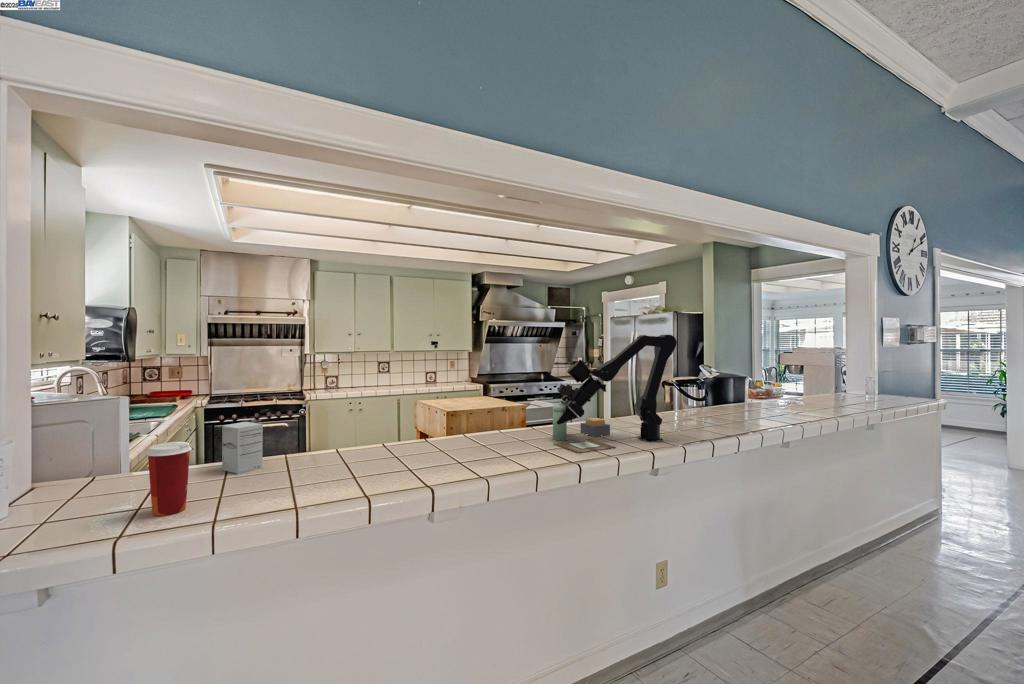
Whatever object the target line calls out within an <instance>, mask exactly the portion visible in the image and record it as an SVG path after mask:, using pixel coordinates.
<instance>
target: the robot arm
mask: <svg viewBox="0 0 1024 684" xmlns="http://www.w3.org/2000/svg"><path fill="white" fill-rule="evenodd" d="M677 343H678V340H677V339H676V337H675V336H674V335H672V334H660V335H658V336H657V335H656V336H655V335H652V336H651V335H646V334H640V335H638V336H637V337H636V338H635V339H634V340H633V341H631V342H630V344H628V345H627V346H626V347H625V348H624V349H623V350H621V351H620V352H619V353H618V354H617V355H615V356H614V357H613V358H611V359H609V360H607V361H605V362H604V363H602V364H600V365H599V366H597V367H596V368H589V367H588V366H587V365H586V364H585V363H584V362H583V360H582V359H579V360H578V361H576V362H575V363H574V364H571V366H570V367H568V369H567V371H566V373H567V374H568V375H569V376H570V377H571V378H572V379H573V380H574V381H575V382H576V383H578V384H579V383H581V385H580V386H579V387H575V389H573V386H572V385H570V384H566V385H565V384H563V383H560V384H559V386H558V389H557V392H558V393H559V394H561V395H563V396H562V397H561V400H560V403H562V404H565V411H564V413H563V414H562V415H561V417H560V418H559V419H558V421H557V422H556V423H557V424H558V425H559V424H562V423H565V422H570V421H572V420H575V419H578V418H582V417H583V416H584V415H585V409H584V406H585V405H586V404H587V403H588V402H589V403H590V402H591V401H592V400H591V399H592V398H593V397H594V396H595V395H596V394H597V393H598V392H599V391H600V390H601V391H602V392H604V393H606V392H607V389H606V387H607V384H605V383H602V382H601V381H603V382H607V383H609V382H611V381H612V380H613V379H614V378H615V377H616V376H617V375H618V373H619V372H620V370H621V368H622V367H623V366H624V365H626V363H628V362H629V361H630V360H631V359H632V358H633V357H634V356H636V355H637V354H638V353H639V352H640V351H641V350H643V349H644V348H645V347H646V346H647V347H654V348H653V350H654V353H653V354H654V358H653V361H652V365H651V368H650V371H649V375H648V378H647V382H646V385H645V388H644V392H643V394H642V395H641V397H640V396H636V399H635V404H634V405H633V407H634V412H635V414H636V416H638V417H639V420H640V421H641V424H640V436H638V437H637V439H639V440H642V441H645V440H646V441H645V442H649V441H654V442H658V441H657V440H661V441H664V439H663V438H661V436H660V435H661V433H660V432H661V431H660V430H661V425H662V423H663V418H661V417H660V416H659V415H658V413H657V408H658V404H657V402H658V401H657V396H658V393H659V389H660V386H661V382H662V380H663V379H662V378H663V375H664V372H665V369H666V365H667V362H668V360H669V358H671V355H673V353H674V351H675V349H676V347H677ZM593 377H596V378H595V379H594V378H593ZM566 404H567V405H566Z"/></svg>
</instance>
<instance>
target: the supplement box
mask: <svg viewBox="0 0 1024 684" xmlns="http://www.w3.org/2000/svg"><path fill="white" fill-rule="evenodd" d="M263 427H264V425H263V423H258V422H257V423H256V422H251V421H250V422H249V421H241V422H236V423H230V424H224V425H222V437H221V440H222V443H221V444H222V445H221V448H222V449H221V455H222V457H221V458H222V459H221V460H222V461H221V462H222V463H221V470H222V471H226V472H229V473H233V474H237V475H240V474H244V473H247V472H251V471H255V470H259V468H260V469H262V468H263V433H264V432H263V431H264V429H263Z"/></svg>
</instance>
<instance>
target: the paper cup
mask: <svg viewBox="0 0 1024 684" xmlns="http://www.w3.org/2000/svg"><path fill="white" fill-rule="evenodd" d="M192 449H193V448H192V447H191V446H190V443H189V442H187V441H171V442H170V441H169V442H163V443H162V442H161V443H158V444H154V445H150V447H149V448H148V451H147V452H146V453H145V455H146V456H147V458H148V473H149V487H150V499H151V500H150V501H151V511H152V515H153V516H155V517H166V516H167V517H168V516H172V515H177V514H179V513H182V512H184V511H185V510H186V508H187V498H188V497H187V496H188V485H189V484H188V483H189V471H190V469H189V467H190V457H191V456H190V455H191V451H192Z"/></svg>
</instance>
